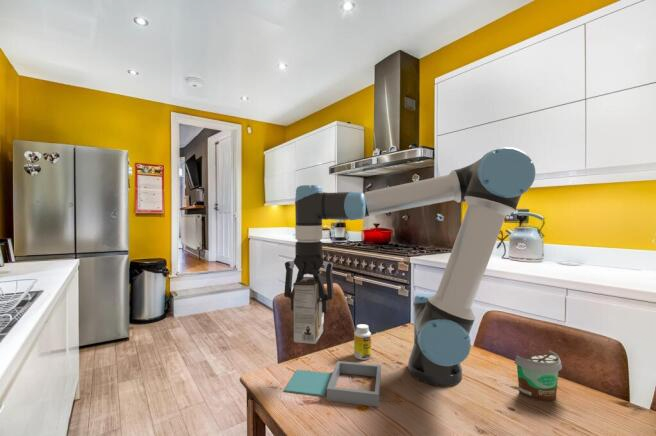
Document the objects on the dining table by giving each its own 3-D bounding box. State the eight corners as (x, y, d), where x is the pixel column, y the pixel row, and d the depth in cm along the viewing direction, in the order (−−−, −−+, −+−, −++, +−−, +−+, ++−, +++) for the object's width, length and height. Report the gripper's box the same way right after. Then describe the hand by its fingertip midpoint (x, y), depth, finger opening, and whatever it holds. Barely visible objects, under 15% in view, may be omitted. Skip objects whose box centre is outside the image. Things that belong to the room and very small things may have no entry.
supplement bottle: (363, 362, 97) (363, 330, 97) (350, 356, 101) (350, 326, 101) (374, 356, 101) (374, 325, 101) (361, 351, 105) (361, 321, 105)
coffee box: (302, 330, 90) (302, 276, 90) (323, 331, 89) (323, 276, 89) (293, 342, 81) (292, 282, 81) (316, 344, 80) (316, 283, 80)
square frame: (381, 375, 89) (381, 365, 89) (378, 406, 74) (378, 394, 74) (337, 370, 92) (337, 361, 92) (326, 400, 77) (326, 388, 77)
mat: (332, 374, 89) (332, 373, 89) (324, 396, 79) (324, 394, 79) (296, 371, 92) (296, 369, 92) (284, 391, 81) (284, 389, 81)
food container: (536, 408, 74) (536, 366, 73) (514, 393, 79) (514, 355, 79) (574, 399, 77) (574, 360, 77) (550, 386, 83) (550, 349, 83)
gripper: (345, 240, 87) (345, 320, 87) (281, 239, 91) (281, 316, 91) (340, 242, 79) (340, 330, 79) (271, 241, 83) (271, 325, 84)
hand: (309, 322), depth 85 cm, fingers closed on coffee box, 6 cm apart
